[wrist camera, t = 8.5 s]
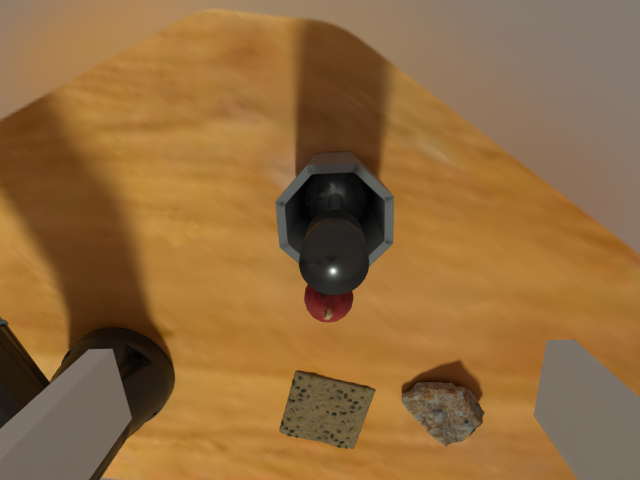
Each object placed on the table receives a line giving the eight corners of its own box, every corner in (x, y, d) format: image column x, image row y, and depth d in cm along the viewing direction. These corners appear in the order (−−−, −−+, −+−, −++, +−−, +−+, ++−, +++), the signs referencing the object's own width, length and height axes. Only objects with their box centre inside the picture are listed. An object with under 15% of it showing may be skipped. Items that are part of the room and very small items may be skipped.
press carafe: (300, 246, 43) (284, 297, 30) (293, 154, 40) (272, 167, 27) (375, 244, 42) (392, 294, 30) (375, 149, 39) (394, 160, 26)
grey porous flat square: (354, 447, 53) (354, 453, 52) (278, 430, 53) (277, 435, 52) (377, 386, 50) (377, 391, 49) (295, 367, 49) (294, 371, 48)
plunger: (307, 228, 39) (281, 315, 21) (303, 169, 37) (270, 209, 19) (366, 226, 38) (391, 313, 20) (365, 166, 36) (393, 204, 18)
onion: (302, 267, 44) (295, 296, 36) (346, 258, 43) (348, 286, 36) (312, 307, 46) (307, 342, 38) (355, 299, 45) (359, 334, 37)
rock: (487, 394, 49) (439, 366, 46) (502, 438, 44) (450, 410, 41) (439, 416, 53) (392, 392, 50) (448, 458, 49) (397, 435, 45)
